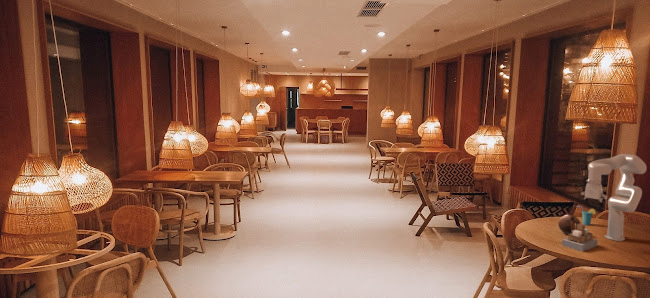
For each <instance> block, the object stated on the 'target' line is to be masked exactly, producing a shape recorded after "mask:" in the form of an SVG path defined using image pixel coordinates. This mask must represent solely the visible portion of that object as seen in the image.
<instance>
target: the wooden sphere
mask: <svg viewBox="0 0 650 298" xmlns="http://www.w3.org/2000/svg"><path fill="white" fill-rule="evenodd" d="M557 223H558V227H559V230H560V231H561V232H562V233H564V234H566V235H569V234H572V233H573V231H574V230H577V224H582V223H581V221H580V219H579V218H578V217H577V216H575V215H572V214H565V215H563V216H561V217H560V218H559V220H558V222H557Z"/></svg>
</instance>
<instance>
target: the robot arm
mask: <svg viewBox="0 0 650 298" xmlns="http://www.w3.org/2000/svg"><path fill="white" fill-rule="evenodd" d="M587 169H588V174H587V175H588V179H586V180H585V182H587V183H586V185H585V191H581V192H580V195H581V197H582V198H583V200H584V201H583V203H584V206H587V205H589V199H593V200H598V201H599V205H598V208H600V209H602V208H603V206H604V202H606V201H607V207H608V217H607V219H608V220H607V230H606V231H607V232H606V234H604V236H603V237H604V238H605V239H608V240H611V241H618V242H623V241H625V240H626V238H625V237H624V234H625V233H624V221H625V215H624V213H623V212H626V213H634V212H635V211H636V209H637V207H638V205H639V203H640V200H641V198H642V194H643V190H642V188H641V187H639V186H637V185H634V184H635V178H634V176H633V174H635V175H636V174H637V175H638V174H639V175H644V174H645V173H646V172H647V165H646V163H645V162H644V161H643V159H641V158H640V157H639V156H637V155H635V154H629V153H621V154H620V153H619V154H618V155H617V154H616V155H615V156H612V157H610V158H609V157H608V158H601V159H596V160H593V161H591V162H590V163H589V164H588V165H587ZM617 169H619V173H620V179H619V182H618V184H617V186H616V189H615V194H616V195H615V196H610V197H609V196H607V195H606V194H604V192H603V191H604V190H603V189H604V188H603V184H602V176H603V175H604V176H607V175H610V174H611V173H612V170H617ZM608 197H609V198H608ZM607 199H608V200H607Z"/></svg>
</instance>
